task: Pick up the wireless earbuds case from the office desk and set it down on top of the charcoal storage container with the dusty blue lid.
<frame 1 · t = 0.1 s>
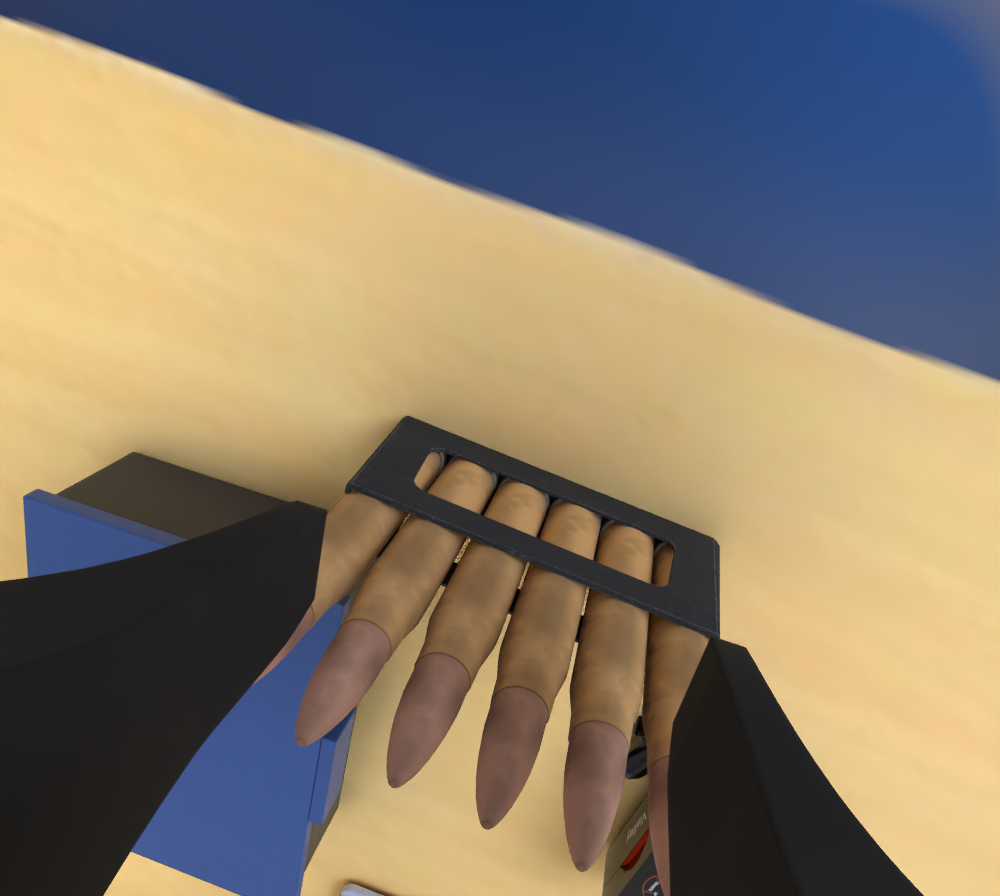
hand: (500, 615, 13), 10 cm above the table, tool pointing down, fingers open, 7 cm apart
container: (244, 643, 29), on the table
ammunition clip: (551, 498, 23), on the table
wireless earbuds: (663, 788, 27), on the table
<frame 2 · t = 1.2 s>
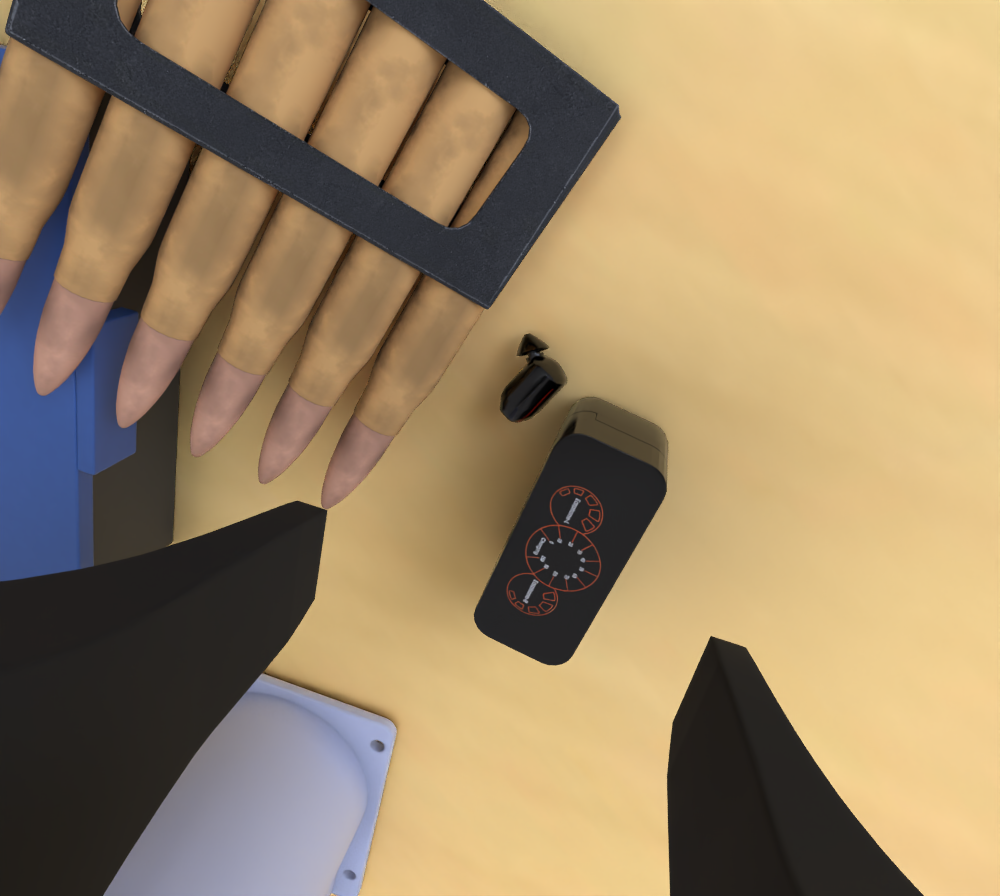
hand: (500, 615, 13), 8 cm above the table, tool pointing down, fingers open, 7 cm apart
container: (35, 303, 22), on the table
wireless earbuds: (567, 464, 20), on the table
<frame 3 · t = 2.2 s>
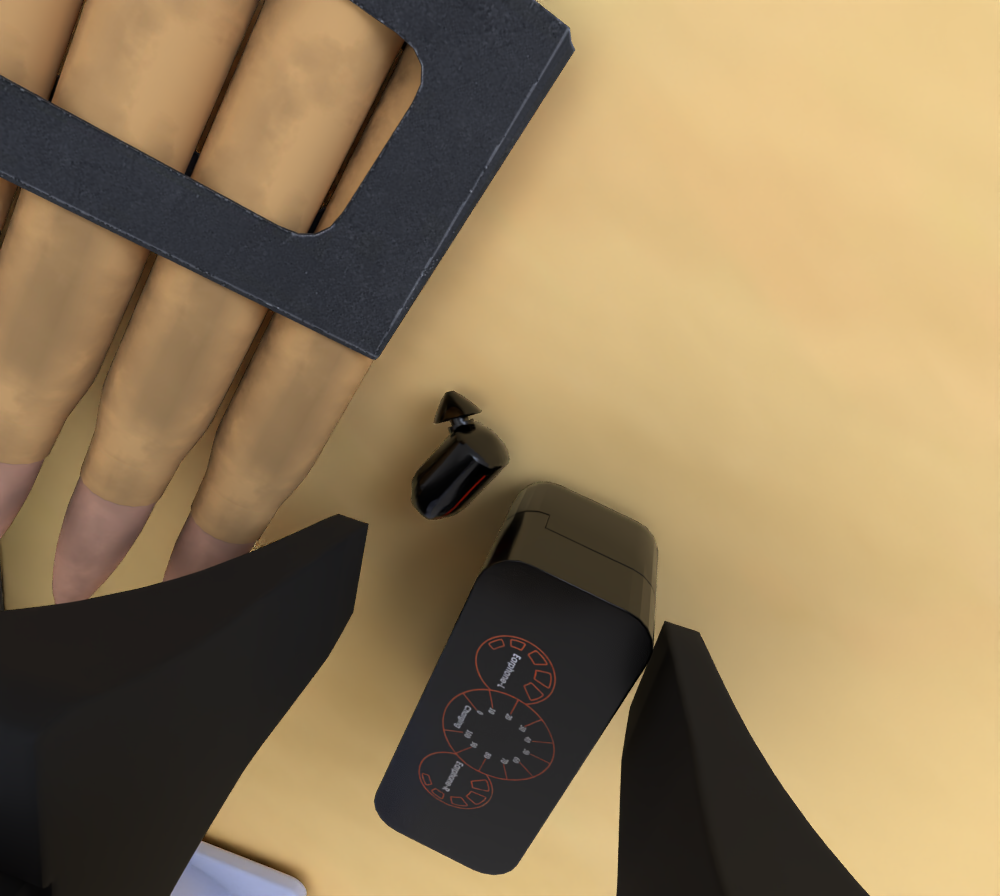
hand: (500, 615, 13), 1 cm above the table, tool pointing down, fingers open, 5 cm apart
wireless earbuds: (517, 568, 14), on the table
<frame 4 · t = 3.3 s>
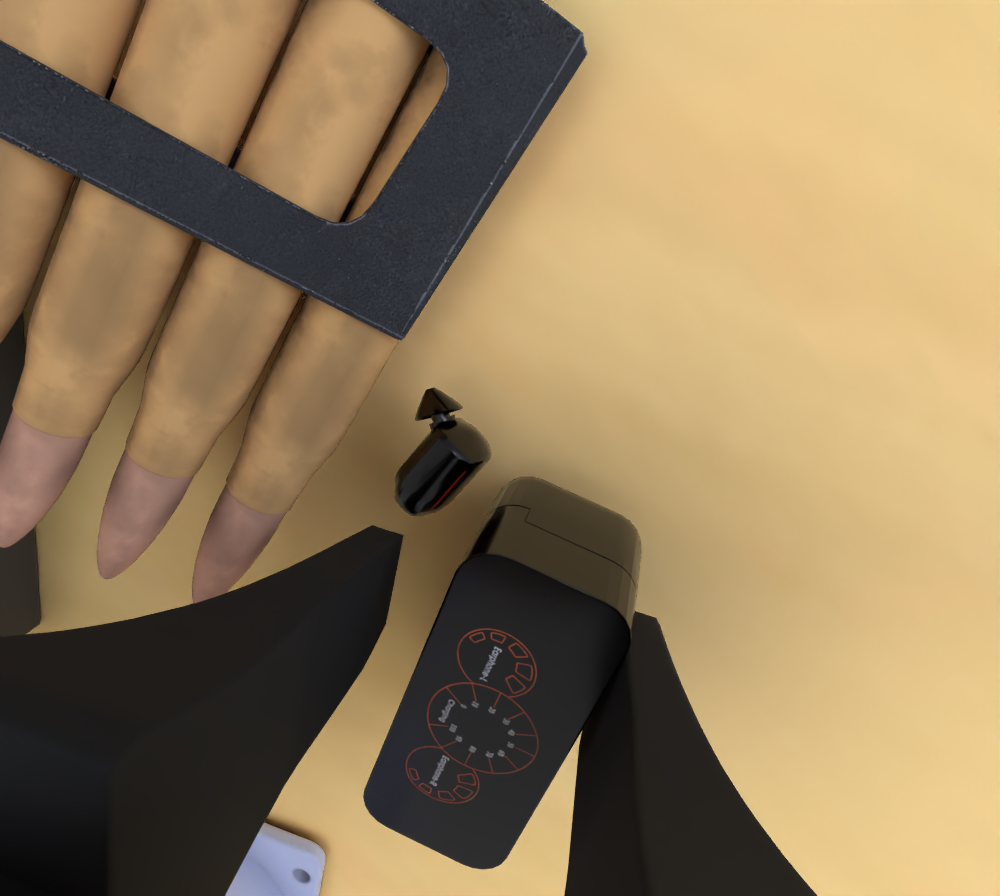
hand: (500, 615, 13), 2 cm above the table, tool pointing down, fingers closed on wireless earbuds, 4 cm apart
wireless earbuds: (504, 564, 15), point 1 cm above the table, touching gripper
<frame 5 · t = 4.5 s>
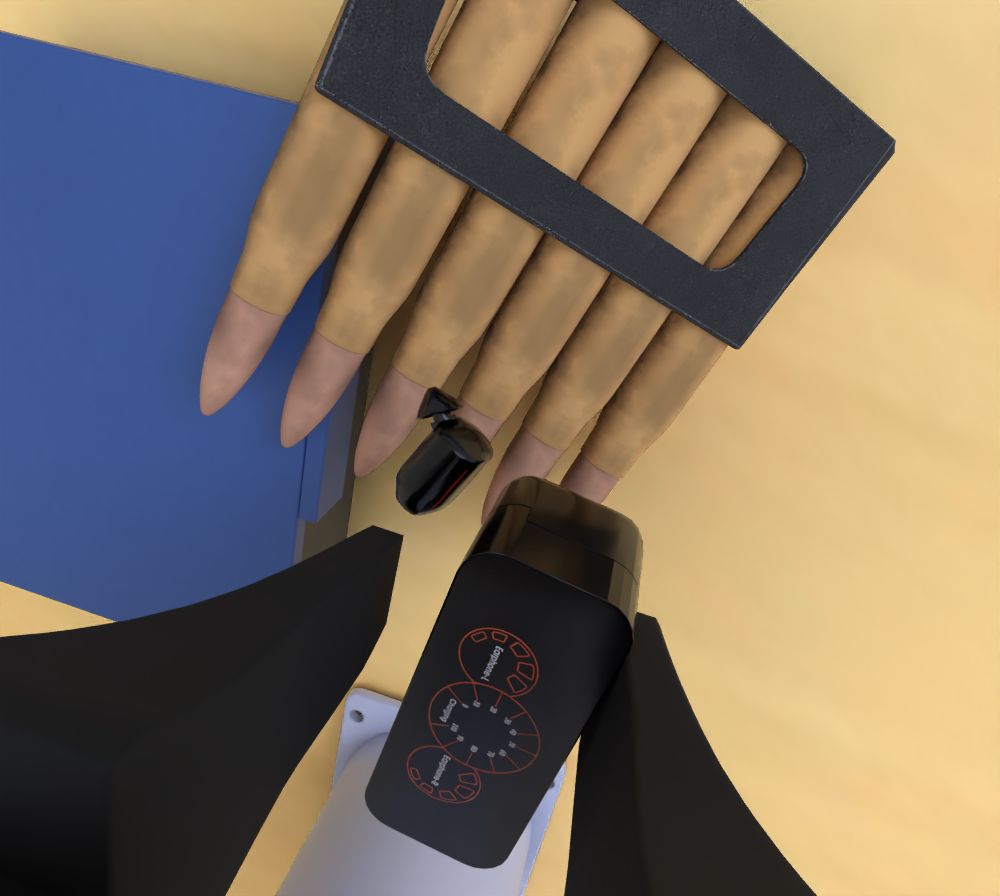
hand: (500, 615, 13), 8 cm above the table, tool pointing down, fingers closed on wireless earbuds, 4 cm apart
container: (214, 341, 22), on the table
wireless earbuds: (506, 563, 15), point 7 cm above the table, touching gripper
when the fingers open (6 cm above the table, at t = 6.6 s): wireless earbuds stays where it is, resting on container.
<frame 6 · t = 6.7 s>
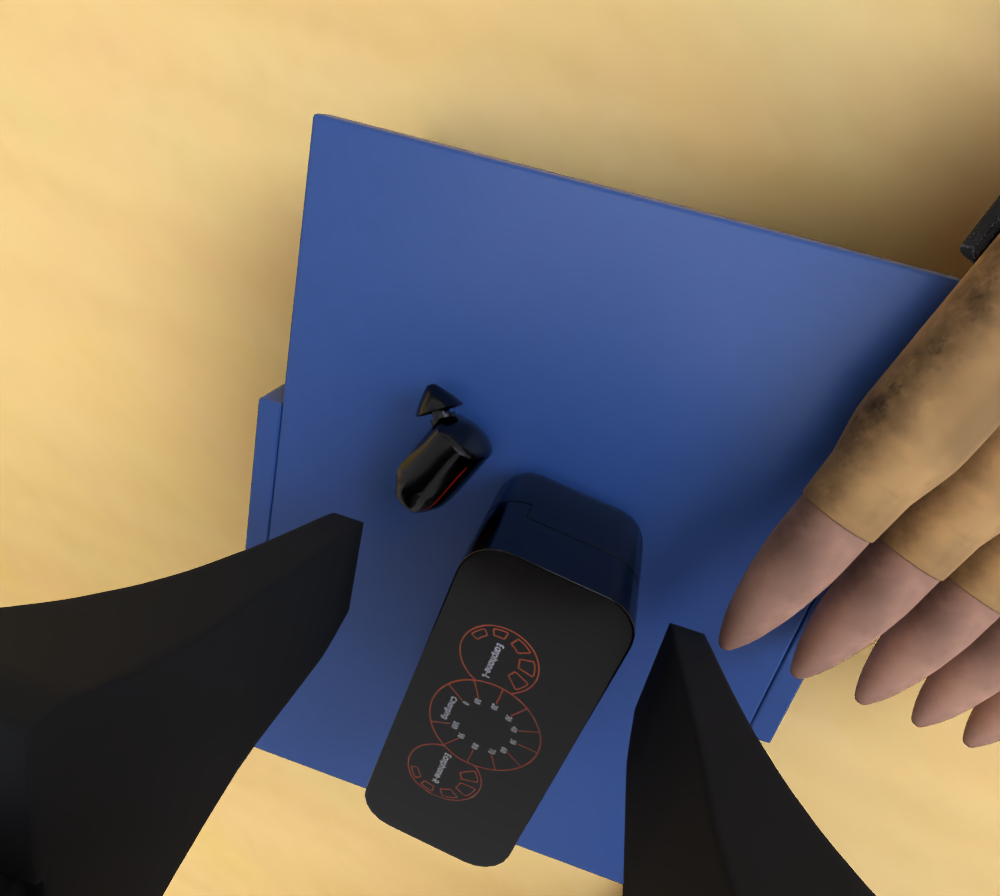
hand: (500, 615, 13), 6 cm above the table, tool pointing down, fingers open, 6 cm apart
container: (553, 478, 18), on the table
wireless earbuds: (505, 561, 14), point 4 cm above the table, touching container
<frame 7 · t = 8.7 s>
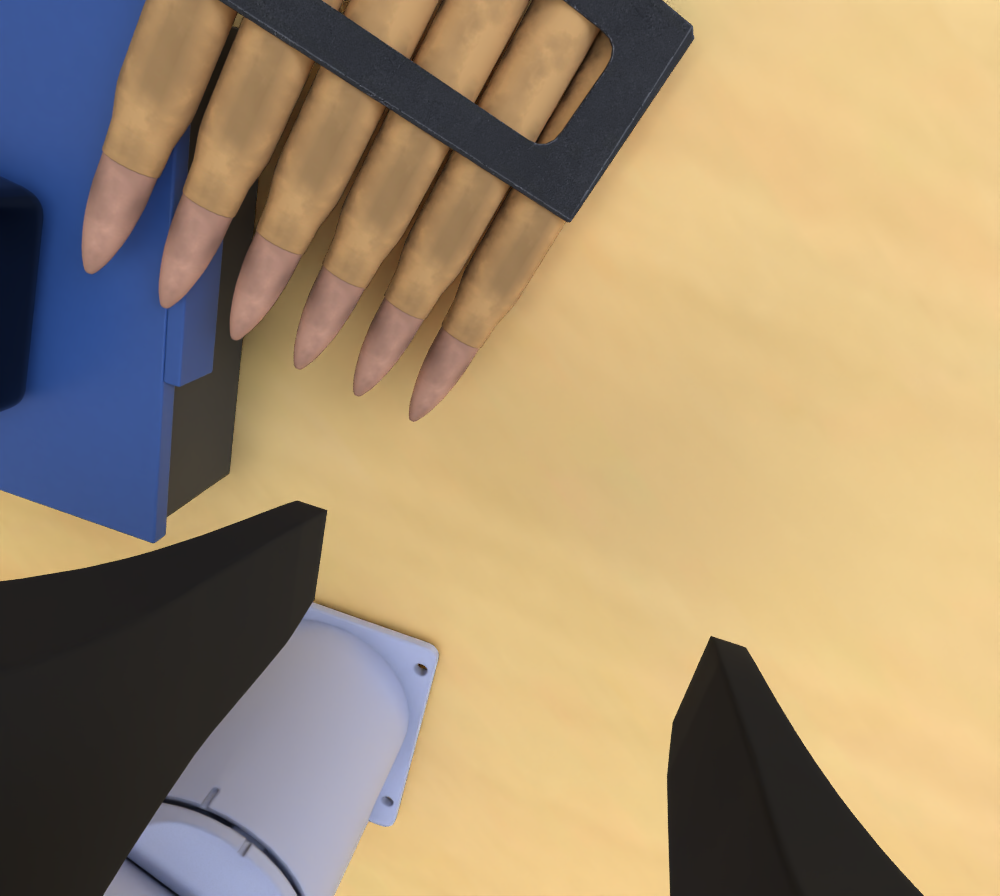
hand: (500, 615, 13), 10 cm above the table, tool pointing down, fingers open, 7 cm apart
container: (109, 240, 24), on the table
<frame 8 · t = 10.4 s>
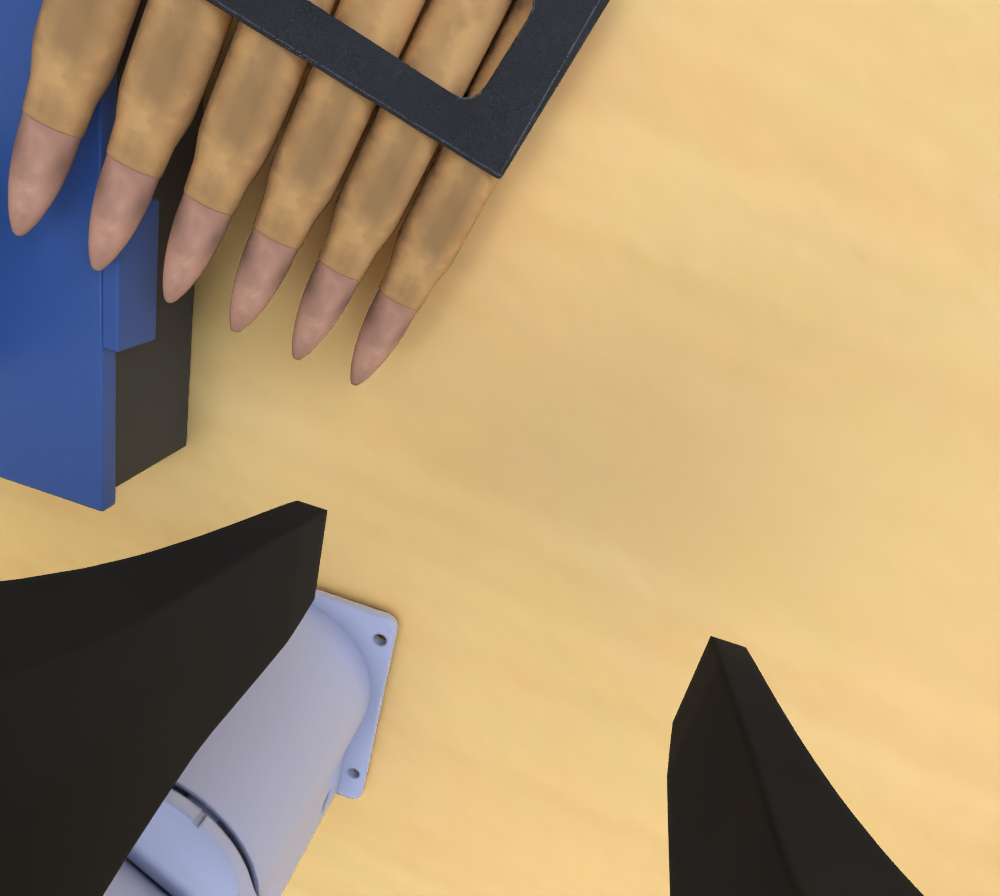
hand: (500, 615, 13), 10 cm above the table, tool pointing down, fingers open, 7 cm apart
container: (58, 212, 24), on the table
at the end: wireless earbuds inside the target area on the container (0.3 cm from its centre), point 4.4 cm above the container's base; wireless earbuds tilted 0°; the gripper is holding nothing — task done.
